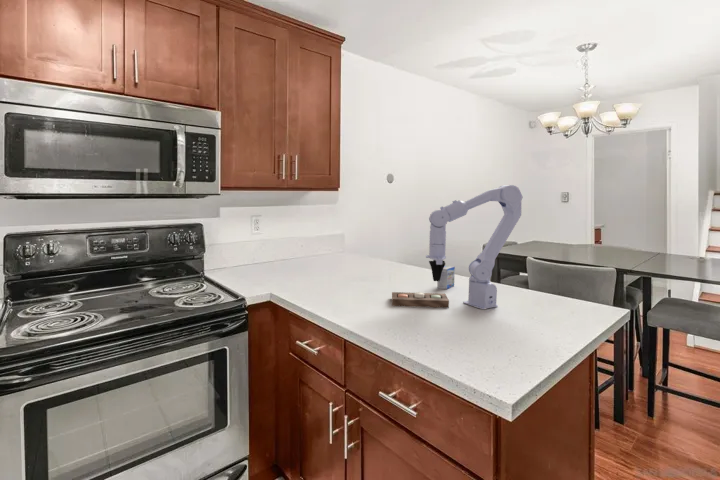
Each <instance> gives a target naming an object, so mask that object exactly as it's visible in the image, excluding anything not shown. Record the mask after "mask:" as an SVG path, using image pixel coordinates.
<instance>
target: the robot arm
mask: <svg viewBox="0 0 720 480" xmlns="http://www.w3.org/2000/svg"><path fill="white" fill-rule="evenodd" d="M522 200H523V195H522V193H521V190H520V188H519V187H518V186H516V185H514V184H509V185H500V186H498V187H494V188H491V189H488V190H485V191H484V192H482V193H479V194H478V195H475V196H474V197H472V198H470V199H467V200H466V201H464V200H457V199H456V200H452V203H450V204H448V205H446V206H440V207H439V210H438V209H435V210H434V211H432V212H431V213H430V215H429V217H428V220H429V223H430V225H429V229H430V230H429V245H428V246H429V247H428V248H429V249H428V251H429V252H428V255H427V254H426V255H425V258H426V259H431V260H428V263H429V266H430V268H431V274H432V279H433V282H437V281H440V278H441V273H442V270H443V268H444V266H446V261H445V259H447V256H446V250H447V249H446V244H447V243H446V242H447V241H446V240H447V239H446V238H447V231H446V226H447V223H448V222H449V223H451V222H453V221H456V220H458V219H460V218H463V217H464V216H466V215H467V214H468V212H469V210H472V209H473V208H476V207H479V206H481V205H484V204H486V203H488V202H498V203H499V205H500V206H501V208H502V211H503V216H502V218H501V219H500V221H499V222H498V224H497V226H496V228H495V229H494V231H493V233H492V234H491V236H490V238H489V239H488V242H486V244H485V246H484V248H483V250H482V251H481V252H480V253H479V254H478V255H477V256H476V258H475V259H474V260H472V261H471V262H470V263H469V265H468V272H469V274H470V277H469V279H468V280H469V281H468V300H466V301H462V302H463V304H465V305H469V306H471V307H475V308H477V309H480V310H485V309H486V310H487V309H491V308H495V307H498V305H499V304H497V299H498V298H497V295H498V294H497V292H498V289H497V286H496V285H495V284H494V283H493V282H491V277H492V274H493V269H494V267H495V263H496V258H497V257H498V255H499V253H500V252H501V250H502V249H503V247H504V246H505V244H506V242H507V240H508V238H509V237H510V235H511V233H512V232H513V230H514V228H515V227H516V225H517V223H518V222H519V220H520V218H521V216H522V202H523V201H522Z"/></svg>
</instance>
